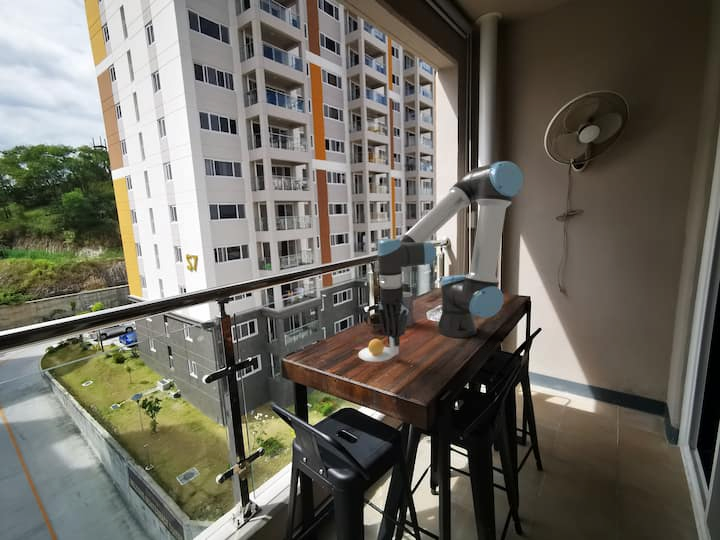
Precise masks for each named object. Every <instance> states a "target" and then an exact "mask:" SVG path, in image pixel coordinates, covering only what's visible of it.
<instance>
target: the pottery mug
mask: <svg viewBox="0 0 720 540" xmlns="http://www.w3.org/2000/svg"><path fill="white" fill-rule="evenodd" d="M362 319H363V320H364V322H365V323H366V324H367V327H369V332H370V333H371V334H372V333H373V332H377V331H380V330H382V327H381V323H380V319H379V315H378V312H375V313H372V314H370V315H369V314H365V315H364V316H363V318H362Z"/></svg>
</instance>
